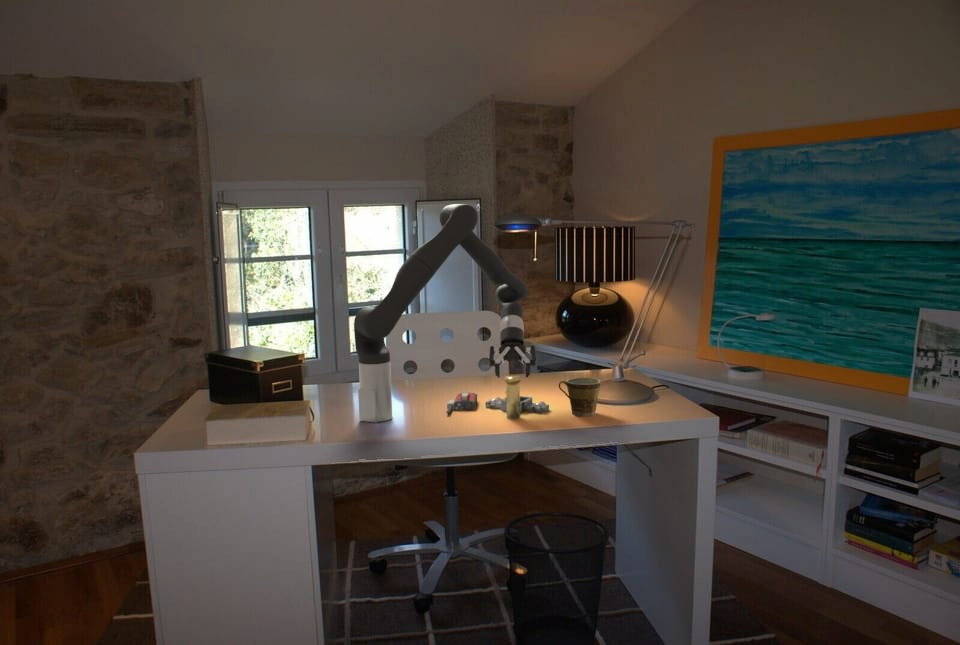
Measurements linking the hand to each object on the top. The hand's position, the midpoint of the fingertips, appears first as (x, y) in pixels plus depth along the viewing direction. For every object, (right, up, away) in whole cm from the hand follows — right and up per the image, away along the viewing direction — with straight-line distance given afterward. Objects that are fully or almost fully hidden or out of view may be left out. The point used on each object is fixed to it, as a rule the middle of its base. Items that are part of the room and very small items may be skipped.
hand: (512, 376), depth 220 cm
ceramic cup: (+20, -11, -1) cm, 23 cm away
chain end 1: (-4, -10, +9) cm, 14 cm away
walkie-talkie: (-15, -11, +9) cm, 21 cm away
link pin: (0, -12, -4) cm, 13 cm away
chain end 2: (+4, -11, +5) cm, 12 cm away
